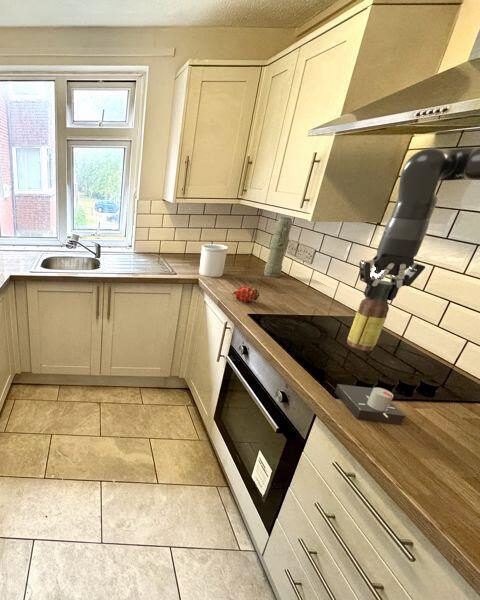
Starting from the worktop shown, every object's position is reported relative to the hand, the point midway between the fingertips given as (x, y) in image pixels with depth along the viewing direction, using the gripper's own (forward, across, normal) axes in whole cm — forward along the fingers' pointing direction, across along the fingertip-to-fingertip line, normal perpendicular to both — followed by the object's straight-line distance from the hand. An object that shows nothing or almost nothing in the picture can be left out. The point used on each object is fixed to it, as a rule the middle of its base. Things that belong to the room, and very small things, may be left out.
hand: (378, 298), depth 86 cm
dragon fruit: (+28, -13, +63) cm, 71 cm away
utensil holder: (+28, -22, +107) cm, 113 cm away
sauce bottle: (+15, 0, 0) cm, 15 cm away
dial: (+25, -1, -15) cm, 29 cm away
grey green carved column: (+28, +15, +112) cm, 117 cm away
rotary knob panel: (+28, -1, -12) cm, 30 cm away
